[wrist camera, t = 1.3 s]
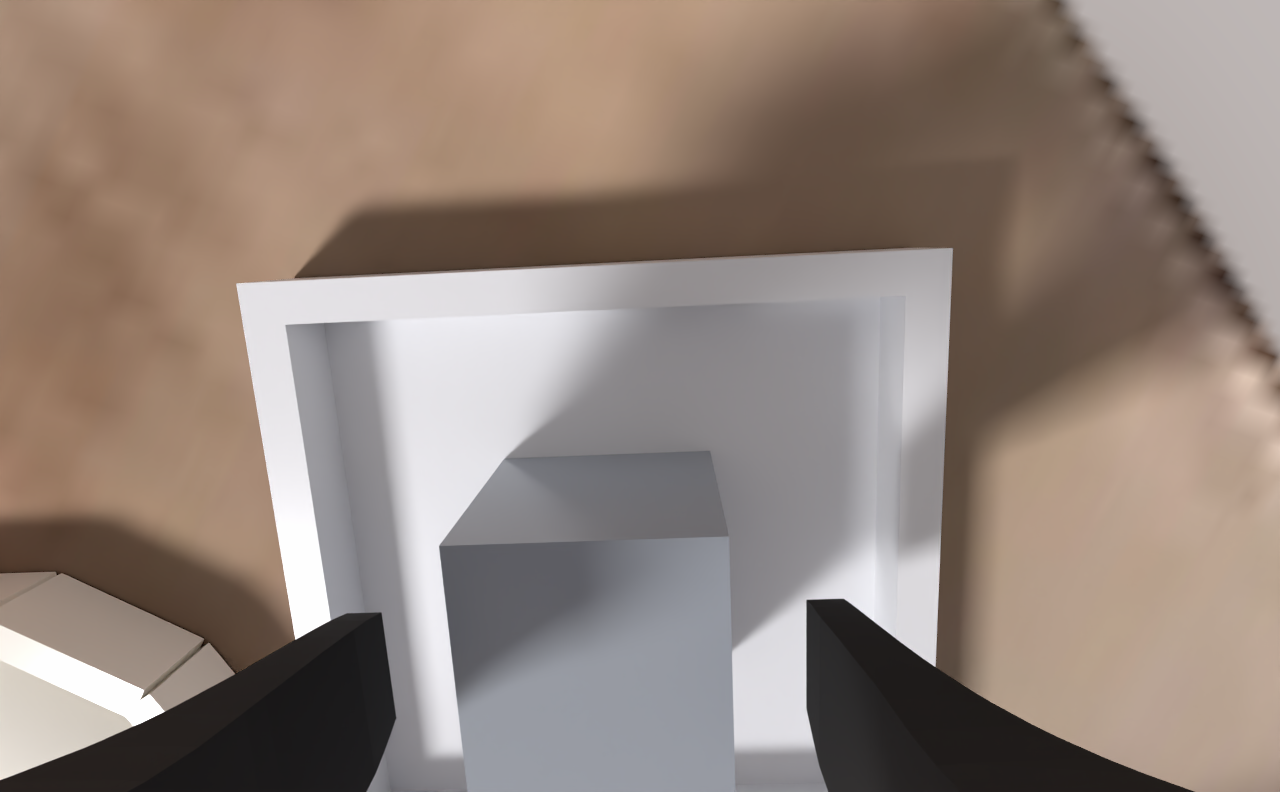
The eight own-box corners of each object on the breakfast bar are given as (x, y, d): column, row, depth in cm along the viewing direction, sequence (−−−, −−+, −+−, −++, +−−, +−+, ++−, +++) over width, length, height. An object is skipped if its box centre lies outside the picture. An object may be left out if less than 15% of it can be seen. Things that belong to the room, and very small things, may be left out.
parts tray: (897, 794, 17) (927, 865, 15) (370, 803, 18) (334, 873, 16) (913, 247, 14) (952, 247, 12) (292, 278, 15) (236, 283, 13)
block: (716, 663, 16) (736, 821, 12) (523, 667, 16) (471, 825, 12) (710, 450, 15) (728, 536, 11) (504, 458, 15) (438, 546, 11)
